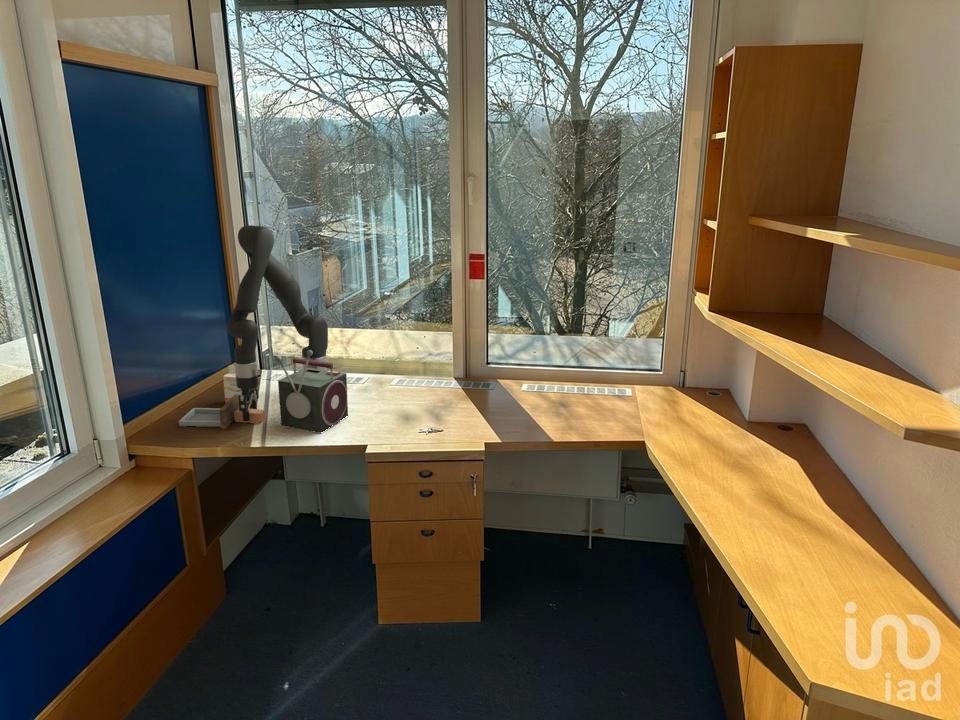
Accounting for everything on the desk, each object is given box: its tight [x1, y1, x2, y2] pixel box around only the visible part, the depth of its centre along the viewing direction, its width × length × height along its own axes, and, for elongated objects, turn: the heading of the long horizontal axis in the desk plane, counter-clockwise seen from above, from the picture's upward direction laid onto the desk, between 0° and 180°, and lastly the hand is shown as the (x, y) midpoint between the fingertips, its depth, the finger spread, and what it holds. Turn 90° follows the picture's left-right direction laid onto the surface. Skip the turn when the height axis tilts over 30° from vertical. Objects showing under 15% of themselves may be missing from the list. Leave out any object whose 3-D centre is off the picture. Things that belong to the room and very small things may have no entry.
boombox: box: [275, 350, 349, 433], centre depth 236 cm, size 18×21×30 cm
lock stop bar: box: [234, 408, 267, 425], centre depth 239 cm, size 10×4×4 cm, turn 82°
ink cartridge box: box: [222, 364, 242, 405], centre depth 253 cm, size 9×5×15 cm, turn 84°
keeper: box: [178, 407, 222, 428], centre depth 239 cm, size 15×13×2 cm
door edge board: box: [219, 394, 239, 430], centre depth 238 cm, size 2×16×7 cm, turn 1°
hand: (250, 416), depth 239 cm, fingers open, 8 cm apart
